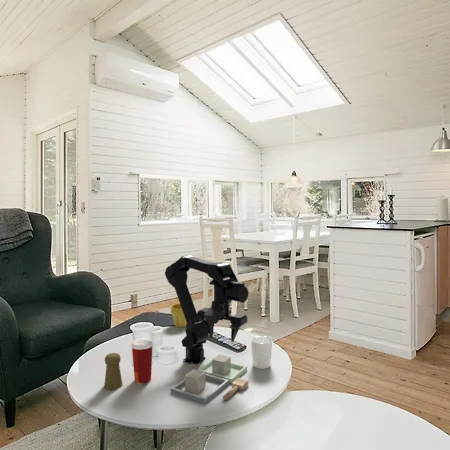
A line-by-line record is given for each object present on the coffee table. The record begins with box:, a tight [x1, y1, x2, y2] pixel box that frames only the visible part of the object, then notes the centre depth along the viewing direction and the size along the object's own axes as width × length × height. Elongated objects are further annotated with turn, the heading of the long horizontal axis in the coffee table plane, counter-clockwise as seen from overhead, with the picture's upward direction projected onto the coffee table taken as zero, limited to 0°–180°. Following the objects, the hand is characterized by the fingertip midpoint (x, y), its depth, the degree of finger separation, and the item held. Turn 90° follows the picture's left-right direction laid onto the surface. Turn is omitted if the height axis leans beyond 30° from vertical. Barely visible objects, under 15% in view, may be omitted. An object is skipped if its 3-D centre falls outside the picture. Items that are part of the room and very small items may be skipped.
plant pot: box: [170, 302, 187, 328], centre depth 193 cm, size 10×10×10 cm
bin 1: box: [170, 374, 230, 405], centre depth 129 cm, size 14×15×2 cm
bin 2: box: [196, 359, 248, 384], centre depth 141 cm, size 15×12×2 cm
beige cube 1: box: [211, 354, 232, 376], centre depth 141 cm, size 5×5×5 cm
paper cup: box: [130, 337, 154, 385], centre depth 135 cm, size 8×8×14 cm
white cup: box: [250, 335, 273, 370], centre depth 147 cm, size 8×8×10 cm
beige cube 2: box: [184, 369, 207, 394], centre depth 129 cm, size 5×5×5 cm
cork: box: [103, 352, 123, 391], centre depth 131 cm, size 6×6×11 cm
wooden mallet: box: [222, 377, 249, 401], centre depth 126 cm, size 13×4×2 cm, turn 149°
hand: (221, 339), depth 142 cm, fingers open, 9 cm apart
